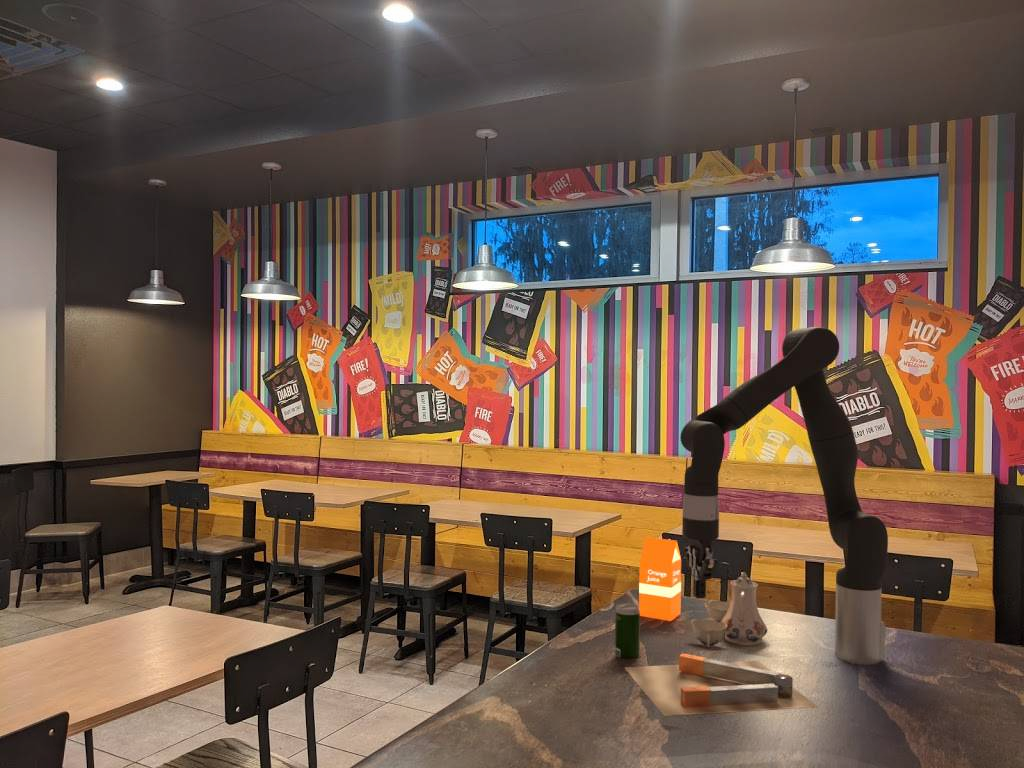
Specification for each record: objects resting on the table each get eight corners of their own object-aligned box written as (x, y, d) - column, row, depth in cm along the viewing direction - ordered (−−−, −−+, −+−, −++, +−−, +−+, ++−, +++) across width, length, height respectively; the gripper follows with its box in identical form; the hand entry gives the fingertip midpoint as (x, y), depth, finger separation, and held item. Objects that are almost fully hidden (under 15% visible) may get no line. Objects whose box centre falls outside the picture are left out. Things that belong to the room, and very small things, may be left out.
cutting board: (758, 667, 172) (758, 660, 172) (818, 714, 148) (818, 706, 148) (624, 674, 167) (624, 667, 167) (663, 724, 143) (664, 715, 143)
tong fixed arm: (772, 697, 152) (773, 682, 152) (778, 702, 150) (778, 686, 150) (680, 703, 149) (680, 687, 149) (684, 707, 147) (684, 691, 147)
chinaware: (703, 623, 207) (697, 560, 208) (769, 624, 202) (763, 558, 202) (690, 659, 181) (683, 586, 181) (767, 661, 176) (759, 586, 176)
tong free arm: (795, 691, 154) (795, 674, 154) (790, 698, 151) (790, 681, 151) (682, 668, 166) (682, 652, 166) (675, 674, 162) (675, 658, 162)
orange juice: (670, 621, 204) (672, 543, 204) (638, 615, 208) (639, 539, 208) (680, 613, 211) (681, 538, 210) (649, 608, 215) (650, 534, 215)
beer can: (626, 667, 171) (626, 611, 171) (609, 659, 176) (610, 605, 175) (644, 662, 174) (645, 607, 174) (628, 655, 179) (628, 601, 178)
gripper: (731, 520, 162) (729, 605, 162) (705, 510, 175) (703, 588, 176) (696, 521, 161) (694, 606, 161) (672, 510, 174) (671, 589, 174)
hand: (699, 597), depth 168 cm, fingers closed
